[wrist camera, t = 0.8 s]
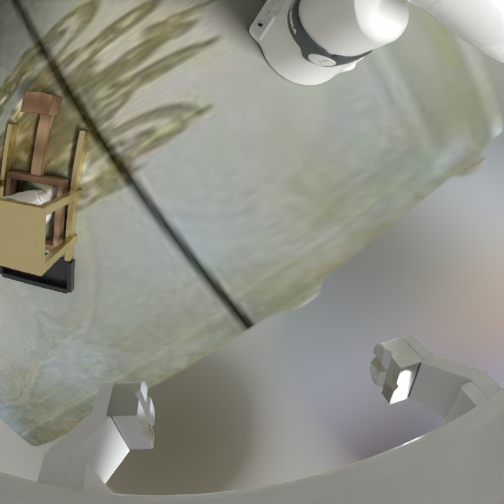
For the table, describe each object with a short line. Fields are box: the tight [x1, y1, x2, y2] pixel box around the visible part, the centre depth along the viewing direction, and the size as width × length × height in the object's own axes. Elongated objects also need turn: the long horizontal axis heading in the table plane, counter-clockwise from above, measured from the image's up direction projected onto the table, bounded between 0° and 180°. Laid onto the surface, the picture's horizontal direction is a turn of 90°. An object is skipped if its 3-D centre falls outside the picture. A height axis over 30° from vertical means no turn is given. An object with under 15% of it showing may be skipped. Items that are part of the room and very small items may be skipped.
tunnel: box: [0, 124, 90, 293], centre depth 37 cm, size 28×17×15 cm, turn 166°
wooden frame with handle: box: [5, 92, 70, 251], centre depth 38 cm, size 25×12×8 cm, turn 166°
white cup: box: [3, 189, 53, 225], centre depth 39 cm, size 8×8×10 cm
